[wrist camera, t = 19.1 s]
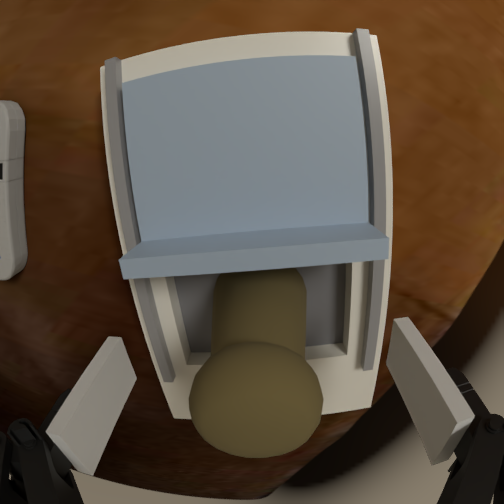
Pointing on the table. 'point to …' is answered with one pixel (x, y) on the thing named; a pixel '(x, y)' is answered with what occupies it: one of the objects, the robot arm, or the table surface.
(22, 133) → the electronic device
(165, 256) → the panel
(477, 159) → the table surface
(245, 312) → the cork
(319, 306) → the socket plate
